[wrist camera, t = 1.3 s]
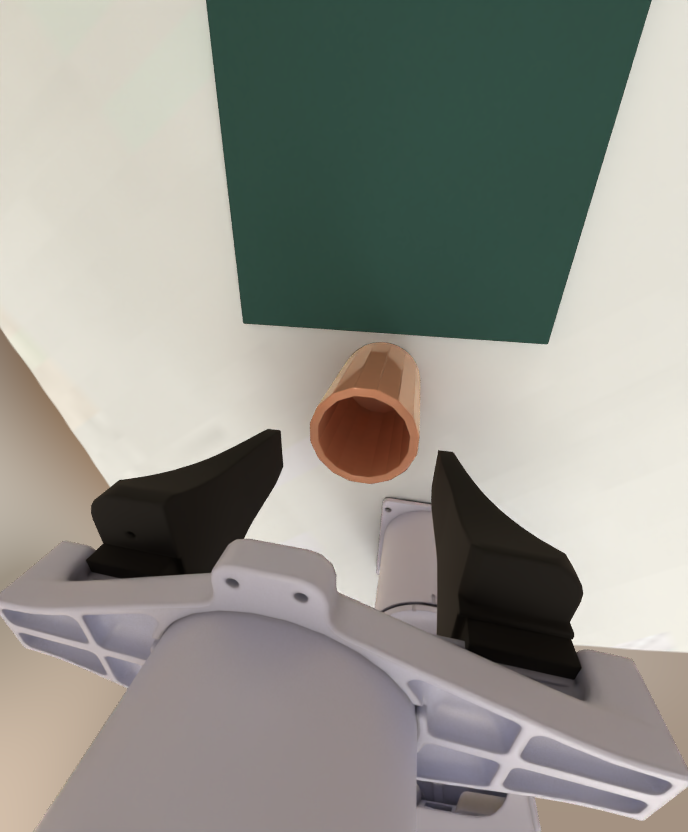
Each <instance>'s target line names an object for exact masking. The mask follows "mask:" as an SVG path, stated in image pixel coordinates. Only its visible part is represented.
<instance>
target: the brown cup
mask: <svg viewBox="0 0 688 832" xmlns="http://www.w3.org/2000/svg"><path fill="white" fill-rule="evenodd" d="M419 434H420V374H419V370H418V367H417V364H416V363H415V361H414V359H413V358H412V357H411V356H410V354H409V353H408V352H406V351H405V350H404V349H402V348H400V347H399V346H396V345H394V344H390V343H384V342H377V343H371V344H368V345H365V346H363V347H361V348H359V349H358V350H357V351H355V352H354V353H353V354H352V355H351V357H350V358H349V359H348V360H347V362H346V363H345V365H344V366H343V368H342V369H341V371H340V372H339V374H338V375H337V377H336V378H335V380H334V382H333V383H332V385H331V386H330V388H329V389H328V391H327V392H326V394H325V395H324V397H323V398H322V400H321V402H320V403H319V405H318V406H317V408H316V410H315V413H314V415H313V417H312V419H311V422H310V441H311V444H312V446H313V448H314V450H315V452H316V454H317V456H318V458H319V460H321V461H322V462H323V463H324V464H325V465H326V466H327V467H328V468H329V469H330V470H331V471H332V472H333V473H335V474H337V475H339V476H341V477H343V478H345V479H347V480H349V481H350V480H351V481H354V482H360V483H367V484H373V483H378V482H384V481H389V480H391V479H393V478H394V477H396V476H398V475H399V474H401V473H403V472H404V471H406V470H407V468H408V467H409V466H410V464H411V463H412V461H413V460H414V458H415V457H416V455H417V451H418V444H419Z"/></svg>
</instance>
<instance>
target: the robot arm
mask: <svg viewBox="0 0 688 832" xmlns="http://www.w3.org/2000/svg"><path fill="white" fill-rule="evenodd" d="M282 468H283V457H282V444H281V431H280V430H272V429H267V430H265V431H263V432H261V433H259V434H257V435H255V436H253V437H251V438H250V439H248V440H246V441H244V442H242V443H240V444H238V445H237V446H235V447H233V448H230V449H228V450H226V451H224V452H222V453H220V454H218V455H216V456H214V457H211V458H209V459H206V460H204V461H201V462H198V463H195V464H192V465H189V466H186V467H183V468H179V469H176V470H172V471H168V472H164V473H160V474H155V475H150V476H145V477H138V478H132V479H125V480H119V481H118V482H116V483H115V484H114V485H113V486H111V487H110V488H109V489H108V490H106V491H105V492H104V493H103V494H101V495H100V496H99V497H98V498H96V499H95V500H94V501H93V503H92V505H91V514H92V517H93V521H94V523H95V525H96V528H97V530H98V532H99V534H100V537H101V539H102V541H103V543H104V544H102V545H101V546H100V547H99V548H98V549H97V550H95V549H93V548H92V547H91V546H88V545H84V544H79V543H75V542H69V541H62V542H61V543H60V544H58V545H57V546H56V547H55V548H54V549H52V550H51V551H50V552H49V553H48V554H46V555H45V556H44V557H43V558H41V559H40V560H39V561H38V562H37V563H36V564H34V565H33V566H32V567H31V568H29V569H28V570H27V571H26V572H25V573H23V574H22V575H21V576H20V577H19V578H17V579H16V580H15V581H14V582H12V583H11V584H10V585H9V586H8V587H7V588H5V589H4V590H3V591H2V592H0V616H1V617H2V618H3V620H4V621H5V622H6V624H7V625H8V626H9V628H10V629H11V630H12V632H13V633H14V634H15V636H16V637H17V639H18V640H19V641H20V643H21V644H22V645H23V647H24V648H27V649H30V650H34V651H37V652H40V653H43V654H47V655H49V656H52V657H55V658H58V659H60V660H63V661H66V662H69V663H71V664H73V665H76V666H78V667H80V668H83V669H85V670H87V671H90V672H92V673H94V674H96V675H99V676H101V677H103V678H105V679H108V680H110V681H112V682H114V683H116V684H119V685H121V686H123V687H125V688H127V690H126V692H125V693H124V695H123V696H122V698H121V699H120V701H119V702H118V704H117V705H116V707H115V709H114V710H113V712H112V713H111V715H110V716H109V718H108V719H107V721H106V722H105V724H104V725H103V727H102V728H101V730H100V731H99V733H98V734H97V736H96V737H95V739H94V740H93V742H92V743H91V745H90V746H89V748H88V749H87V751H86V753H85V754H84V755H83V757H82V758H81V760H80V761H79V763H78V764H77V766H76V767H75V769H74V770H73V772H72V774H71V775H70V777H69V778H68V780H67V781H66V783H65V784H64V786H63V787H62V789H61V790H60V792H59V793H58V795H57V796H56V798H55V799H54V801H53V802H52V804H51V805H50V807H49V808H48V810H47V811H46V813H45V814H44V816H43V818H42V819H41V820H40V822H39V823H38V825H37V826H36V828H35V830H34V831H33V832H541V827H540V822H539V818H538V812H537V807H536V802H535V797H537V798H543V799H549V800H554V801H561V802H566V803H571V804H575V805H580V806H585V807H589V808H594V809H599V810H603V811H607V812H611V813H614V814H618V815H622V816H626V817H630V818H634V819H637V820H642V821H643V820H645V819H646V818H648V817H649V816H650V815H652V814H653V813H654V812H655V811H657V810H658V809H659V808H661V807H662V806H663V805H665V804H666V803H667V802H668V801H670V800H671V799H672V798H674V797H675V796H676V795H678V794H679V793H680V792H682V791H683V790H684V789H685V788H687V787H688V768H687V766H686V764H685V762H684V760H683V758H682V756H681V754H680V752H679V750H678V748H677V746H676V744H675V742H674V740H673V738H672V736H671V734H670V732H669V730H668V728H667V726H666V724H665V722H664V720H663V719H662V716H661V714H660V712H659V710H658V709H657V706H656V704H655V702H654V700H653V698H652V696H651V694H650V692H649V690H648V689H647V687H646V685H645V683H644V681H643V679H642V677H641V675H640V673H639V671H638V669H637V667H636V665H635V663H634V661H633V660H632V659H630V658H628V657H623V656H618V655H613V654H608V653H603V652H599V651H594V650H581V651H578V652H577V653H576V651H575V649H574V646H573V643H572V641H571V639H573V638H574V632H573V629H572V627H571V624H570V621H571V619H572V617H573V615H574V613H575V611H576V610H577V608H578V606H579V604H580V602H581V599H582V596H583V590H582V585H581V583H580V580H579V578H578V576H577V574H576V572H575V570H574V568H573V566H572V564H571V563H570V561H569V559H568V558H567V556H566V554H565V553H563V552H561V551H559V550H558V549H556V548H554V547H552V546H551V545H549V544H547V543H545V542H543V541H542V540H540V539H539V538H537V537H535V536H534V535H532V534H531V533H529V532H528V531H526V530H525V529H524V528H522V527H521V526H519V525H518V524H517V523H515V522H514V521H513V520H512V519H510V518H509V517H508V516H507V515H505V514H504V513H503V512H502V511H501V510H500V509H499V508H498V507H497V506H495V505H494V504H493V503H492V502H491V501H490V500H489V499H488V498H487V497H486V496H485V495H484V493H483V492H482V491H481V490H480V489H479V488H478V486H477V485H476V484H475V483H474V481H473V480H472V479H471V477H470V476H469V475H468V473H467V472H466V471H465V469H464V468H463V466H462V465H461V463H460V462H459V460H458V459H457V457H456V455H455V454H454V453H453V452H448V451H440V450H438V455H437V460H436V466H435V472H434V477H433V483H432V494H431V504H424V503H418V502H411V501H405V500H398V499H392V498H386V499H384V501H383V507H382V517H381V528H380V538H379V549H378V559H377V570H376V572H377V574H378V575H379V579H378V587H377V594H376V602H375V609H374V608H372V607H370V606H368V605H365V604H363V603H361V602H359V601H357V600H354V599H352V598H350V597H348V596H345V595H343V594H341V593H339V592H338V591H337V588H336V573H335V570H334V567H333V565H332V564H331V563H330V562H329V561H328V560H327V559H326V558H325V557H324V556H323V555H321V554H319V553H316V552H313V551H311V550H307V549H302V548H296V547H291V546H286V545H280V544H275V543H270V542H264V541H259V540H253V539H244V537H245V535H246V533H247V531H248V529H249V527H250V525H251V524H252V522H253V520H254V518H255V517H256V515H257V514H258V512H259V510H260V509H261V507H262V506H263V504H264V502H265V501H266V499H267V498H268V496H269V494H270V493H271V491H272V489H273V488H274V486H275V484H276V482H277V480H278V478H279V476H280V473H281V471H282ZM387 508H390V509H387Z"/></svg>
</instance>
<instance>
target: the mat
mask: <svg viewBox="0 0 688 832" xmlns="http://www.w3.org/2000/svg"><path fill="white" fill-rule="evenodd" d="M651 1H652V0H206V4H207V12H208V21H209V30H210V39H211V47H212V56H213V65H214V73H215V82H216V91H217V99H218V108H219V117H220V125H221V134H222V143H223V151H224V160H225V169H226V177H227V186H228V195H229V203H230V212H231V221H232V230H233V238H234V247H235V256H236V264H237V273H238V282H239V290H240V299H241V308H242V316H243V323H245V324H260V325H274V326H289V327H303V328H318V329H332V330H347V331H362V332H376V333H391V334H405V335H420V336H434V337H449V338H463V339H478V340H492V341H507V342H522V343H536V344H548V342H549V338H550V335H551V332H552V328H553V325H554V322H555V318H556V315H557V312H558V308H559V305H560V302H561V299H562V295H563V292H564V289H565V285H566V282H567V279H568V275H569V272H570V269H571V265H572V262H573V259H574V256H575V252H576V249H577V246H578V242H579V239H580V236H581V232H582V229H583V226H584V222H585V219H586V216H587V212H588V209H589V206H590V203H591V199H592V196H593V193H594V189H595V186H596V183H597V179H598V176H599V173H600V169H601V166H602V163H603V160H604V156H605V153H606V150H607V146H608V143H609V140H610V136H611V133H612V130H613V126H614V123H615V120H616V116H617V113H618V110H619V107H620V103H621V100H622V97H623V93H624V90H625V87H626V83H627V80H628V77H629V73H630V70H631V67H632V63H633V60H634V57H635V54H636V50H637V47H638V44H639V40H640V37H641V34H642V30H643V27H644V24H645V20H646V17H647V14H648V11H649V7H650V4H651Z"/></svg>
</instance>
